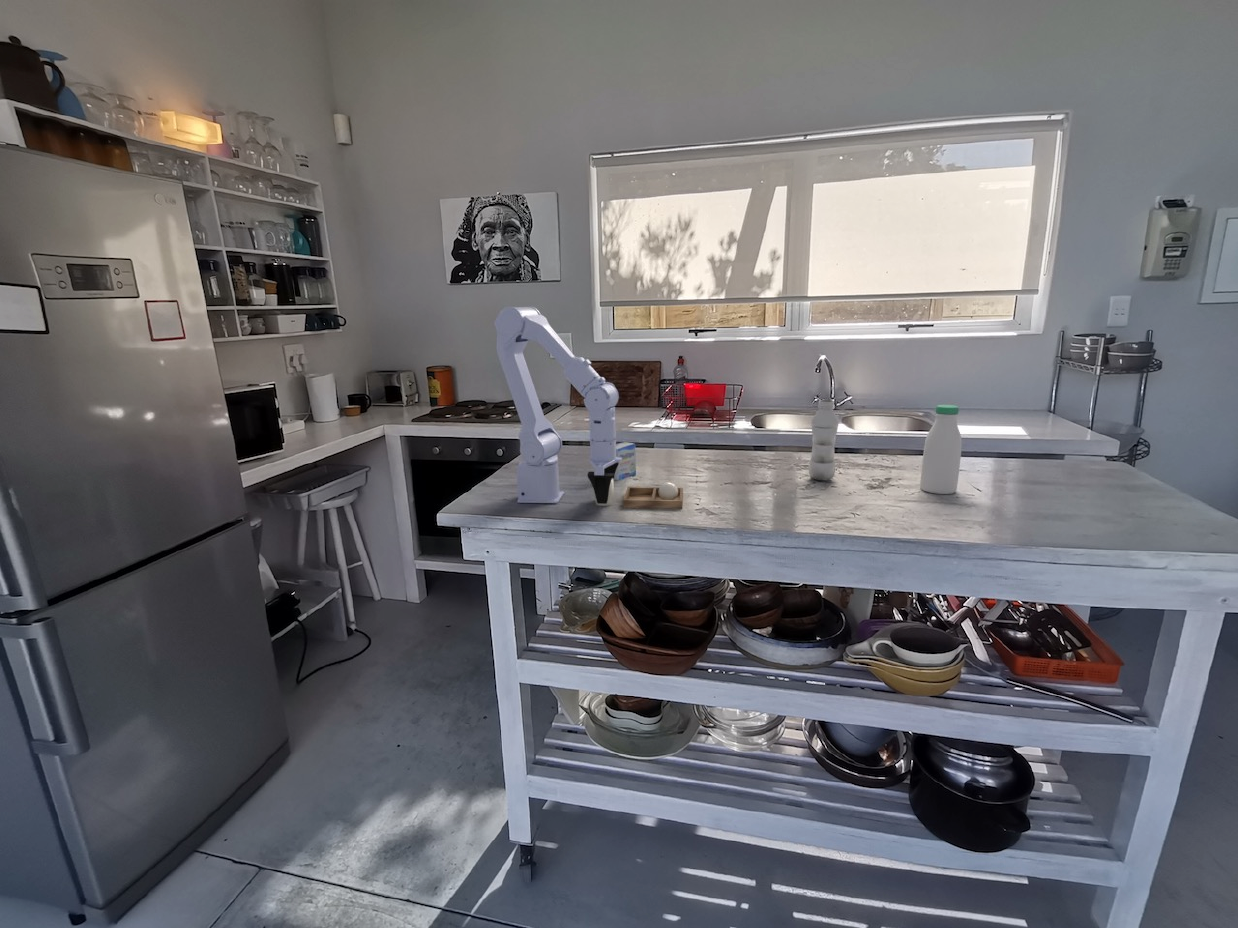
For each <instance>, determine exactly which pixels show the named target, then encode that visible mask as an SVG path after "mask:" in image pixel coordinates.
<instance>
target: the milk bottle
mask: <svg viewBox="0 0 1238 928" xmlns="http://www.w3.org/2000/svg"><path fill="white" fill-rule="evenodd" d="M959 410H960V407H959V406H958V405H953V404H938V405H936V407H935V414H934V415H935V420H934V423H933V425H932V426H931V428H930V429H929V430H928V432H927V434H926V438H925V441H924V446H923V455H922V462H921V463H922V464H921V472H920V481H919V482H920V483H919V488H920V490H922V491H924V492H927V493H931V494H938V495H952V494H954V493H956V492H957V489H958V481H959V477H960V476H959V474H960V466H961V458H962V449H963V448H962V447H963V440H962V435H961V433H960V432H961V431H960V430H959V427H958V423H957V418H958V417H959V412H960V411H959Z"/></svg>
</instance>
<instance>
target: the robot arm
mask: <svg viewBox="0 0 1238 928" xmlns="http://www.w3.org/2000/svg"><path fill="white" fill-rule="evenodd" d="M493 324H494V327H495V329H496V348H495V349H496V353H497V357H498V359H499V363H500V365H501V369H502V371H503V373H504V377H505V380H506V383H507V385H508V389H509V391H510V394H511V397H512V400H513V404H514V406H515V409H516V411H517V415H518V417H519V420H520V423H521V427H520V431H519V433H518V439H519V443H520V444H519V446H520V447H519V453H520V456H521V458H522V459H523V461H519V463H518V464H517V467H516V485H517V486H516V489H517V501H516V502H517V503H520V504H522V503H524V504H526V503H527V504H530V503H531V504H557V503H559V501H560V500H561V499H562V497H563V496H564V494H565V492H564V491H563V490H560V480H559V478H560V477H559V462H558V461H559V455H558V454H559V453H560V452H561V451H562V448H563V441H562V437H561V435H559V433H558V432H557V431H556V430H555V428H554V425H553V423H552V422H551V421H550V420H548V419H547V418H546V416H545V415H544V411H543V409H542V406H541V402H540V400H539V396H538V394H537V391H536V388H535V385H534V382H533V379H532V377H531V374H530V371H529V368H528V365H527V362H526V359H525V355H524V351H525V349H526V347H527V345H528V343H529V341H533V342H536V343H538V344H539V345H541V346H542V347H543V348H544V349H545V350H546V351H547V352H548V353H549V354H550V355H551V356H552V357H553V359H555V360H556V361H557V362H558V363H559V365H561V366H562V368H563V374H562V375H563V376H564V377H565V379H567V381H569V383H570V384H571V385H572V386H573V387H574V389H576V391H577V392H578V393H579V394H580V395H581V396H582V397H584V399H583V404H584V406H585V408H586V409H587V410H588V414H589V415H588V416H589V419H588V421H589V445H590V448H589V449H590V457H589V463H590V465H592V467H593V471H588V472H587V478H588V480H589V481H590V483H591V485H592V488H593V491H594V497H595V496H596V500H597V503H598V504H607V501H608V495H609V487H610V483H611V480H612V478H613V479H614V476H615V472H616V469H617V466H618V465H619V462H621V461H622V458H621V457H616V444H617V433H616V432H617V431H616V430H617V429H616V405H617V404H618V402H619V399H620V396H619V395H620V394H619V391H618V389H617V388H616V386H615V384H613V382H610V381H609V382H608V381H606V378H605V377H604V376H600V375H599V373H598V372H597V371H596V370H595V369H594V367H592V366H591V365H592V361H590V360H589V359H588V358H587V359H585V358H584V357H581V356H575V354H574V353H573V352H572V351H571V350H570V349H569V347H568V346H567V345H566V344H565V342H564V341H563V340H562V339H561V337H560V336H559V334H557V332H556V331H555V330H554V329H553V327H552V326H551V325H550V323H549V321H548V319H547V317H545V316H544V315H543V314H541V312H540V311H539V310H538V309H537V308H536V307H535V306H531V305H530V306H519V307H518V306H517V307H515V306H505V307H504V308H502V309H501V310H500V312H499V313H498V314H497V316H496V319H495V320H494V323H493ZM596 500H595V501H596Z"/></svg>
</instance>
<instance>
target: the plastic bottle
mask: <svg viewBox="0 0 1238 928" xmlns="http://www.w3.org/2000/svg"><path fill="white" fill-rule="evenodd" d="M817 409H818V411H817V412H816V413H815V414H814V416H813V417H812V418H811V419H812V420H811V433H812V434H811V435H812V448H811V453H810V454H811V456H810V461H809V465H808V474H809V476H810V478H811V479H812V480H813V479H814V480H817V481H829V480H832V479H833V478H834V477H835V473H836V462H835V444H836V438H837V433H838V429H839V424H840V423H839V418H838V417H837V415H836V413H835V412H834V409H835V400H833V399H819V400H818V404H817Z"/></svg>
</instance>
